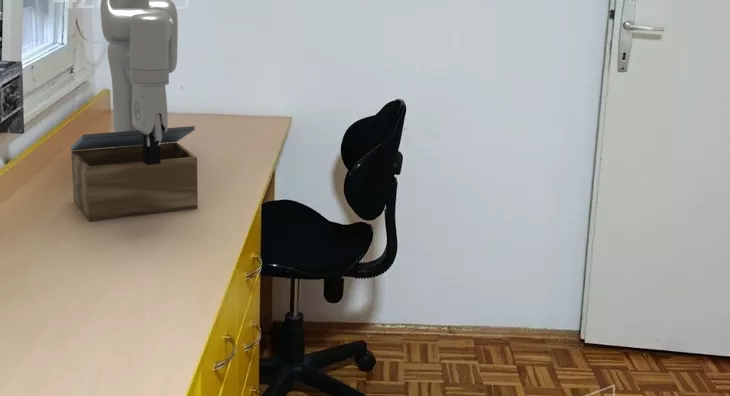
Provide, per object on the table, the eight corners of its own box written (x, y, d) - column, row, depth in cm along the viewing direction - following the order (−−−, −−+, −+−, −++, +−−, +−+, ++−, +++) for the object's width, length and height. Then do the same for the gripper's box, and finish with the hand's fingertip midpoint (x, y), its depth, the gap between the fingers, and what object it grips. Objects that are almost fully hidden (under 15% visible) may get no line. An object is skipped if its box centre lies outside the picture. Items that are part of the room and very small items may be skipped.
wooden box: (74, 202, 199) (71, 151, 195) (177, 190, 211) (176, 142, 207) (89, 221, 188) (86, 167, 184) (197, 208, 199) (197, 157, 196)
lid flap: (71, 150, 195) (70, 147, 195) (176, 141, 207) (176, 138, 207) (83, 138, 183) (83, 134, 183) (194, 129, 195) (194, 126, 195)
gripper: (121, 70, 183) (124, 156, 189) (142, 84, 171) (144, 174, 177) (156, 69, 187) (158, 152, 192) (179, 82, 175) (181, 171, 180)
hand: (151, 163), depth 185 cm, fingers closed
